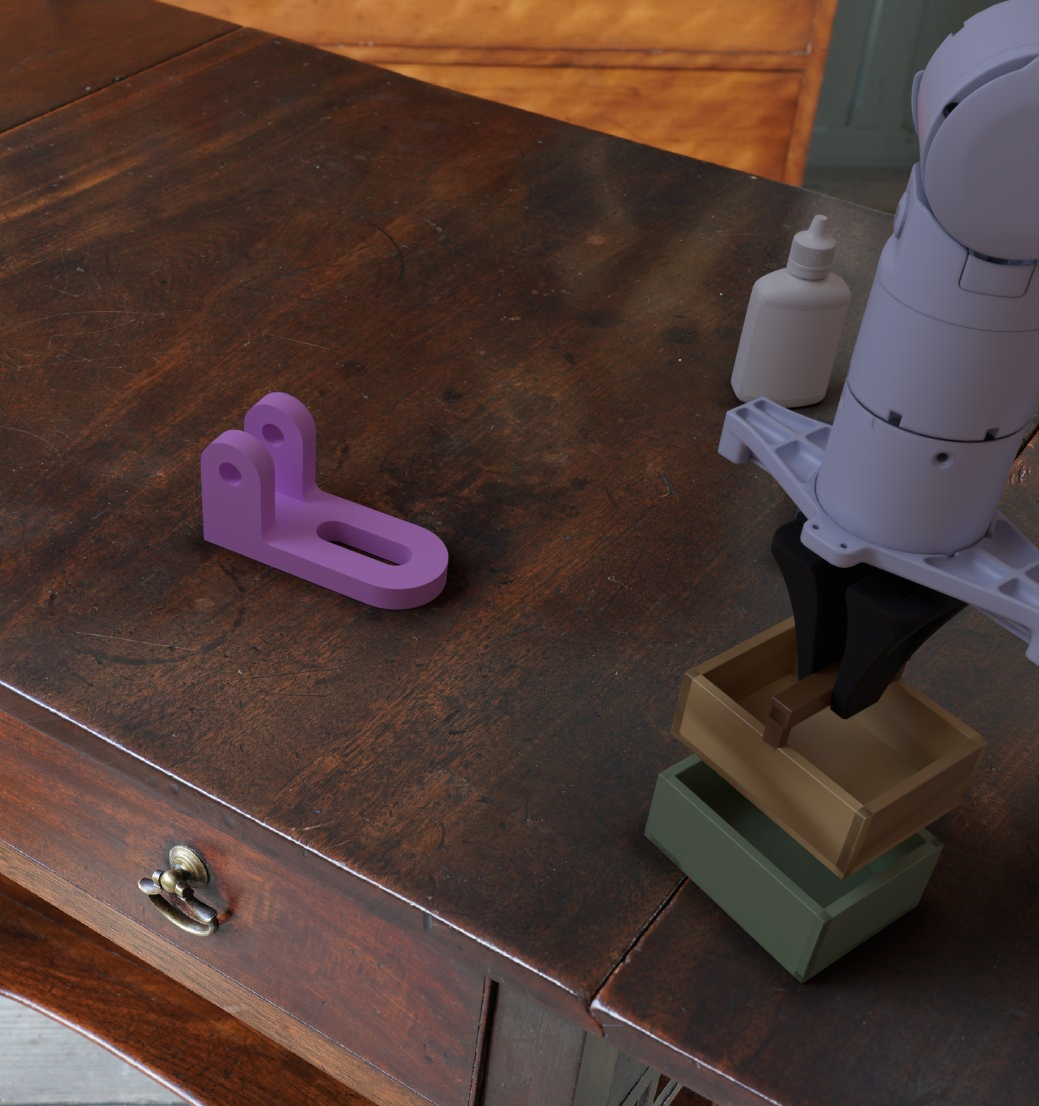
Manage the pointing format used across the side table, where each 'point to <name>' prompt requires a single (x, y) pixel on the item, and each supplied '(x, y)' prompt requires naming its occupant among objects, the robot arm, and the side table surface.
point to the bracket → (309, 514)
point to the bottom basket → (780, 871)
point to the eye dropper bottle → (794, 325)
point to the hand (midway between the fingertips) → (837, 692)
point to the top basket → (825, 750)
